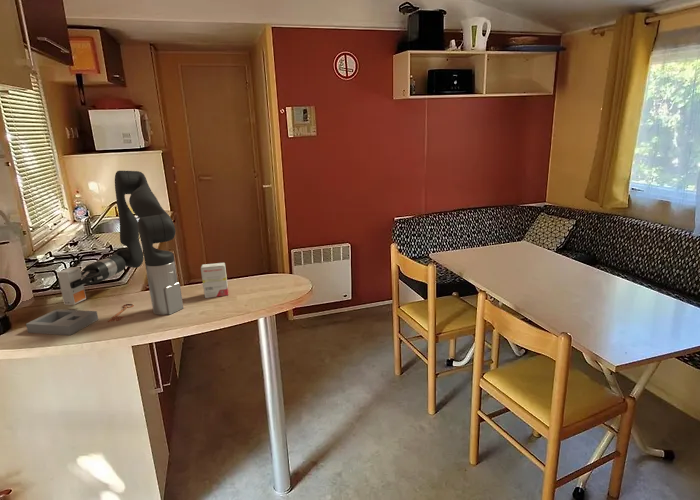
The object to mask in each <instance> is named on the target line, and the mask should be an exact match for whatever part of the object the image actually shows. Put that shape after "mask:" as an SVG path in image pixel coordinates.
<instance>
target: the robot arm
mask: <svg viewBox="0 0 700 500" xmlns="http://www.w3.org/2000/svg"><path fill="white" fill-rule="evenodd" d="M114 190H115V191H114V192H115V198H116V199H115V200H116V205H117V207H116V208H117V212H118V221H119V242H120V244H121V245H123V246H126V247H127V248H121V249H118V250H116V252H115V253H113V254H112V255H111V256H109V257H106V258H102V259H100V260H97V261H95V262H92V263H91V262H90V263H88V264H87V265H85V267H84V269H83V270H82V271H81V275H82V277H81V278H80V279H78V280H75V281H73V282H71V283H70V286H71V288H72V289H74V288H76V287H78V286H81V285H82V286H83V285H84V286H85V285H86V286H89V285H90V286H91V285H92V284H99V283H100V282H103V281H105V280H107V279H110V278H112V277H113V276H114V275H116V274H119V273H120V272H122V271H124V270H125V268H126V267H128V268H134V269H135V268H137V269H138V268H140V267H141V266H142V265H143V262H144V265H145V270H146V277H147V282H148V289H149V295H150V296H149V297H150V300H151V306H152V312H153V314H155V315H162V316H163V315H172V314H174V313H176V312H178V311H180V310H183V309H184V304H183V296H182V288H181V283H180V282H178V276H177V270H176V268H177V267H176V262H175V256H174V253H173V252H172V251H169V250H165V249H164V250H163V249H160V248H159V249H158V248H156V247H155V246H154V244H159V243H161V244H162V243H165V242H167V243H168V242H170V241H172V240H174V239H175V236H176V227H175V223H174V221H173V219H172V218H171V216H170V215H169V214H168V213H167V211H165V210H164V209H163V207H162V205H161V204H160V202H159V201H158V198H157V197H156V196H155V194H154V193H153V191H152V189H151V187H150V185H149V183H148V180H147V178H146V176H145V174H144V173H143V172H142V171H138V170H117V171H116V172H115V174H114ZM126 195H129V200H128V201H129V202H128V203H129V205H130V208H131V209H130V208H129V206H128V203H127V201H126ZM131 210H132V211H131ZM136 216H137V217H138V218H139V219H137V218H136ZM57 284H58V289H61V287H60V283H59V282H58V283H57Z"/></svg>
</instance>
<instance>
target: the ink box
mask: <svg viewBox="0 0 700 500" xmlns="http://www.w3.org/2000/svg"><path fill="white" fill-rule="evenodd" d="M200 273H201V279H202V280H201V281H202V287H203V293H204V298H205V299H208V298H215V297H216V298H218V297H223V296H229V287H228V286H229V285H228V278H227V277H228V276H227V269H226V263H225V262H217V263H207V264H206V263H205V264H201V266H200Z"/></svg>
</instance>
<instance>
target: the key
mask: <svg viewBox="0 0 700 500" xmlns="http://www.w3.org/2000/svg"><path fill="white" fill-rule="evenodd" d="M121 307H122V309H121V310H120V311H118V312H117V313H116V314H115V315H113V316H112V317H111V318H109V319H108V320H107V321H106V322H107V323H111V322H119V321H122V319H123V318H125V316H121V314H122V313H123V312H124V311H126V310H127V309H131V308H133V307H134V304H132V303H126V304H123V305H122V306H121Z"/></svg>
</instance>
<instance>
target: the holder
mask: <svg viewBox="0 0 700 500" xmlns="http://www.w3.org/2000/svg"><path fill="white" fill-rule="evenodd" d="M98 320H99V317H98V311H96V310H84V309H83V310H81V309H80V310H79V309H61V308H60V309H58V308H56V309H54V310H52V311H50V312H47V313H46V314H43V315H41V316H39V317H37V318H35V319H33V320H30V321H29V322H26V323H25V326H26V330H27V333H28V334H29V333H32V334H43V335H44V334H45V335H46V334H48V335H58V336H59V335H61V336H62V335H64V336H72V335H74V334H76V332H79V331H80V330H83V329H84V328H86V327H88V326H89V325H92V324H93V323H95V322H96V321H98Z"/></svg>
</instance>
